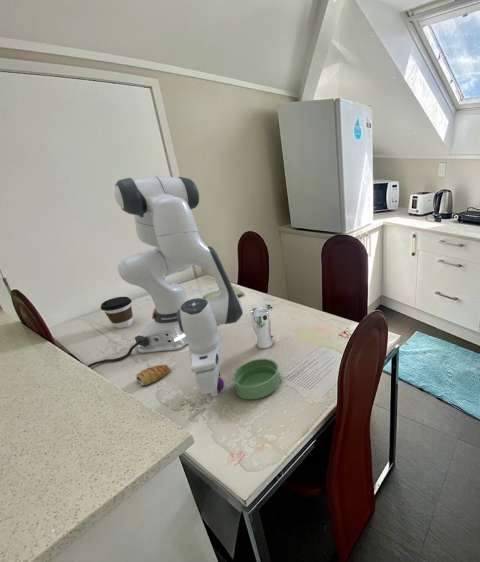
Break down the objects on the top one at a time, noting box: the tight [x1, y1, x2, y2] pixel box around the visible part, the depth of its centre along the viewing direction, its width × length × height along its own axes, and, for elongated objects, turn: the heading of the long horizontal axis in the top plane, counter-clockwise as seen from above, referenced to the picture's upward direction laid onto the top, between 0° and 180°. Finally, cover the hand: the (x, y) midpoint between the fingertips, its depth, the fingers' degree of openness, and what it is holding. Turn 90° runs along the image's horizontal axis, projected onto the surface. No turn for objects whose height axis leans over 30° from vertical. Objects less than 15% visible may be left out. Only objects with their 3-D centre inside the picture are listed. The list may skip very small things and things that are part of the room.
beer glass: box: [250, 307, 274, 349], centre depth 124 cm, size 7×7×15 cm
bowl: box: [232, 358, 281, 400], centre depth 104 cm, size 14×14×6 cm
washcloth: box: [202, 285, 245, 299], centre depth 166 cm, size 13×18×3 cm
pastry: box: [135, 364, 170, 386], centre depth 108 cm, size 9×7×4 cm
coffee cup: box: [100, 296, 134, 329], centre depth 139 cm, size 11×11×12 cm
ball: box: [217, 376, 225, 393], centre depth 102 cm, size 5×5×5 cm
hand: (216, 384), depth 102 cm, fingers open, 8 cm apart
